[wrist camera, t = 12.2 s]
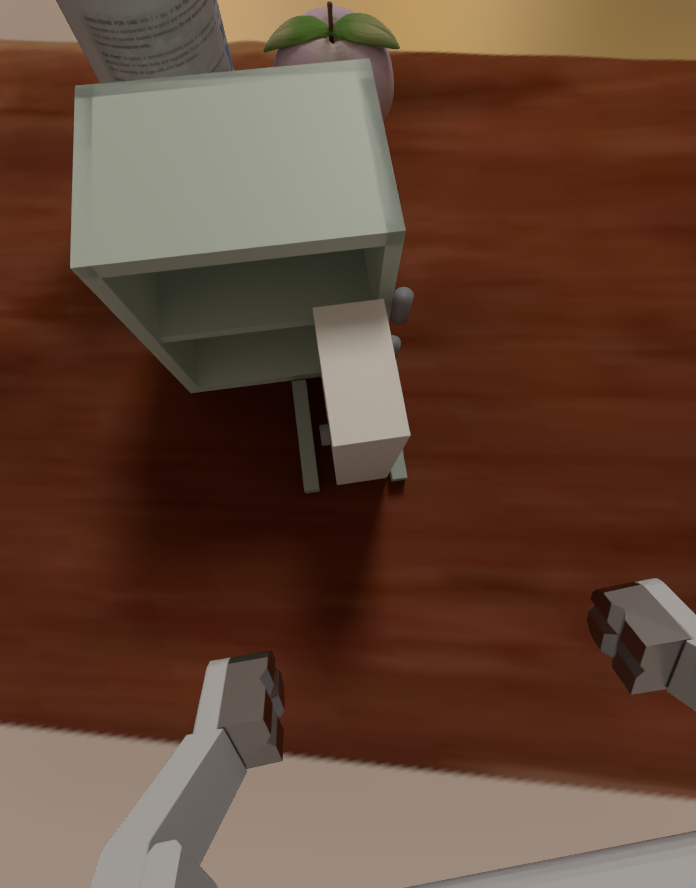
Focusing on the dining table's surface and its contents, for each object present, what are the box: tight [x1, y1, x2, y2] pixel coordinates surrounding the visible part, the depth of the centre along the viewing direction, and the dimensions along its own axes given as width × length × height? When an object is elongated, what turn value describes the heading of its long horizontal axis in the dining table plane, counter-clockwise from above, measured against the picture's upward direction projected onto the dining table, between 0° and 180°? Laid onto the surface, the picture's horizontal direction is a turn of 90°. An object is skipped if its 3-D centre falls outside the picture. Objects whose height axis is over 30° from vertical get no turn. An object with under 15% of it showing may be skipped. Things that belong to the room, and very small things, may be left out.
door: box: [313, 299, 410, 485], centre depth 25 cm, size 7×4×11 cm, turn 9°
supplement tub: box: [56, 0, 234, 83], centre depth 29 cm, size 10×10×15 cm
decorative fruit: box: [263, 2, 400, 122], centre depth 32 cm, size 9×8×10 cm
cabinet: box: [70, 58, 414, 493], centre depth 24 cm, size 18×15×14 cm
